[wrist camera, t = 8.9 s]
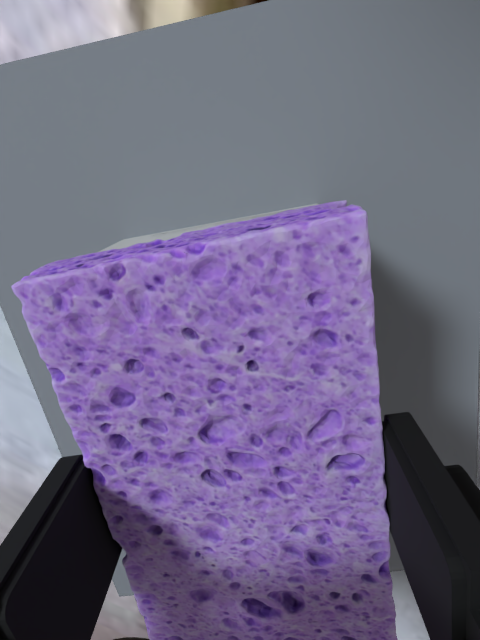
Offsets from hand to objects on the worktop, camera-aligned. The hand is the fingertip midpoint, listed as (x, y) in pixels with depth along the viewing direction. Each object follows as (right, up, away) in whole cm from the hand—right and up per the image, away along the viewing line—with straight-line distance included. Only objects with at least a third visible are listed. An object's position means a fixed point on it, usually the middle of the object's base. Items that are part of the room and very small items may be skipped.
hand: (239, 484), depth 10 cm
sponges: (0, +1, +1) cm, 1 cm away
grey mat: (0, +2, +6) cm, 7 cm away
